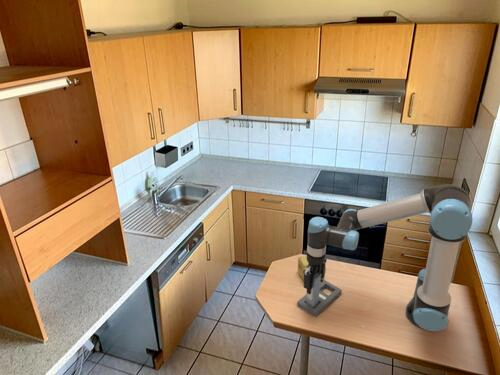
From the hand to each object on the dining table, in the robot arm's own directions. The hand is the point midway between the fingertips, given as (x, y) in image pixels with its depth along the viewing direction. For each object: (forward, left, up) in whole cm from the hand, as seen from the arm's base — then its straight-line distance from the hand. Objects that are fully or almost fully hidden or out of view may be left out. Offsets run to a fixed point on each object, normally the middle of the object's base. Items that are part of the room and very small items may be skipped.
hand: (312, 295), depth 165 cm
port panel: (0, -6, -6) cm, 8 cm away
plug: (0, 0, -5) cm, 5 cm away
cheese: (+13, -15, -7) cm, 21 cm away
